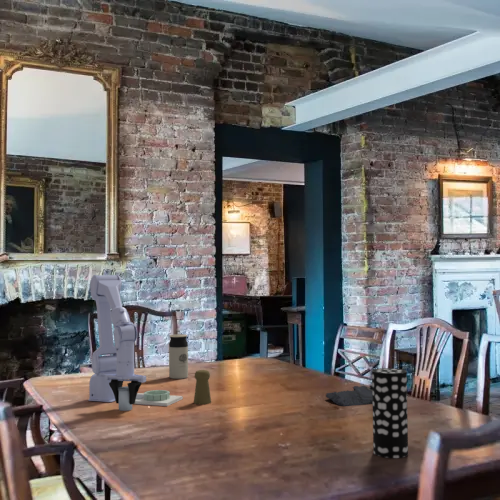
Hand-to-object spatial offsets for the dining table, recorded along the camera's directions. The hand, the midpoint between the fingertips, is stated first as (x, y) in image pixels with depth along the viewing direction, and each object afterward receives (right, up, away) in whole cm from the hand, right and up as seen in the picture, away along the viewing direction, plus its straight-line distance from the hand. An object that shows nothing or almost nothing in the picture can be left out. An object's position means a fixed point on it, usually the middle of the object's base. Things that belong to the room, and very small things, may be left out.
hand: (125, 403), depth 199 cm
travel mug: (+11, -4, +59) cm, 60 cm away
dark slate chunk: (+79, -2, +11) cm, 79 cm away
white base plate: (+7, -2, +12) cm, 14 cm away
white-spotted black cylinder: (+75, 0, -50) cm, 91 cm away
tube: (0, -2, 0) cm, 2 cm away
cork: (+25, -2, +9) cm, 26 cm away
